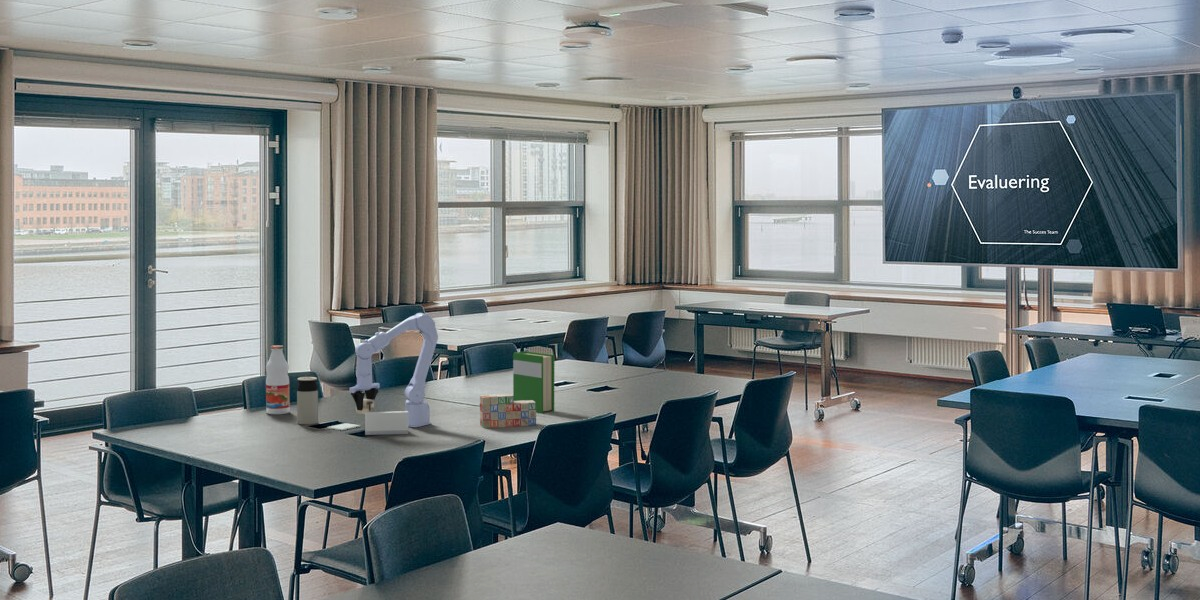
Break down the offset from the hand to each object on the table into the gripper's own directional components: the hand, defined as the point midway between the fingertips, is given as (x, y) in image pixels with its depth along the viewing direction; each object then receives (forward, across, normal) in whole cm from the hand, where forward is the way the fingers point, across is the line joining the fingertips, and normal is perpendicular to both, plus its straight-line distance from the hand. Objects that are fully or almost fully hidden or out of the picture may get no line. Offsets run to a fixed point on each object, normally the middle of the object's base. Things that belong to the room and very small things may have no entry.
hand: (364, 409), depth 441 cm
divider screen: (+8, +3, +14) cm, 16 cm away
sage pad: (+8, +4, -8) cm, 11 cm away
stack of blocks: (+8, -36, +42) cm, 56 cm away
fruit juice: (+8, -5, -54) cm, 55 cm away
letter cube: (+2, 0, 0) cm, 2 cm away
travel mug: (+8, +5, -26) cm, 28 cm away
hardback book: (+8, -70, +30) cm, 77 cm away
